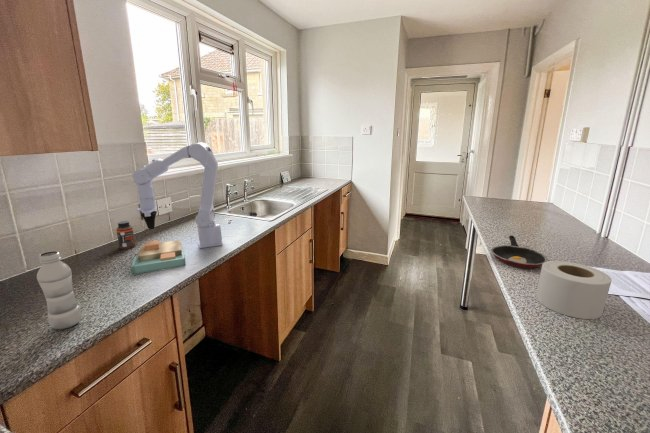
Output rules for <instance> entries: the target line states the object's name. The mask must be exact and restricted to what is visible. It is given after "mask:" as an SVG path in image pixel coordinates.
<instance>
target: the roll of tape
mask: <svg viewBox="0 0 650 433" xmlns="http://www.w3.org/2000/svg"><path fill="white" fill-rule="evenodd" d="M611 285H612V278H611V277H610V275H608V274H607V273H605V272H604V271H602V270H599V269H597V268H594V267H591V266H590V265H589V266H588V265H584V264H581V263H577V262H576V263H575V262H571V261H564V260H548V261H547V262H544V263H543V264H542V265H541V270H540V274H539V279H538V284H537V289H536V293H535V298H536V301H538V303H540V304H541V305H542V306H544V307H545V308H547V309H548V310H551V311H552V312H555V313H557V314H559V315H560V314H561V315H564V316H568V317H570V318H575V319H580V320H595V319H596V320H597V319H598V318H601V317H602V316H603V312H604V310H605V305H606V303H607V298H608V296H609V292H610V288H611Z"/></svg>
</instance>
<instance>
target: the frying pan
mask: <svg viewBox="0 0 650 433" xmlns="http://www.w3.org/2000/svg"><path fill="white" fill-rule="evenodd" d="M508 239H509V241H510V245H509V244H507V245H506V244H504V245H503V244H502V245H495V246H492V247H491V248H490V252H491V253H492V254H493V257H495V258H496V259H497V261H499V262H500V263H502V264H504V265H507V266H511V267H514V268H518V269H529V270H530V269H535V268H538V267H540V266H541V267H542V264H543V263H544V262H547V261H549V260H548V259H549V258H548V257H547V256H546V255H545V254H543V253H541V252H539V251H537V250H534V249H530V248H526V247H524V246H523V247H522V246H520V245H519V244H518V242H517V240H516V237H515V236H514V235H511V234H510V235H509V237H508Z"/></svg>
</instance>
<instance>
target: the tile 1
mask: <svg viewBox="0 0 650 433" xmlns="http://www.w3.org/2000/svg"><path fill="white" fill-rule="evenodd" d="M160 243H161V242H160V240H159V239H158V240H151V241H150V240H149V241H145V242H144V245H145V246H144V247H145V251H146V250H153V249H159V247H160Z"/></svg>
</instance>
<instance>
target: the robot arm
mask: <svg viewBox="0 0 650 433" xmlns="http://www.w3.org/2000/svg"><path fill="white" fill-rule="evenodd" d="M189 158H190V159H191V158H192V159H193V160H195V161H197V162H199V163H200V164H201V166H203V167H204V170H203V181H202V188H201V189H202V190H201V199H200V205H199V208H198V213H197V214H196V215H195V218H194V220H195V221H194V222H195V224H196V225H197V226H196V227H197V232H198V233H197V234H198V241H197V243H198V248H199V249H205V248H211V247H218V246H222V245H223V237H222V228H221V225H220V223H215V221H214V220H215V218H216V214H215V213H216V212H215V206H214V200H215V191H216V183H217V175H218V162H217V160H216V157H215V155H214V152H213V149H212V148H211V147H210V146H209V145H208V144H207V143H205V142H203V141H202V142H201V141H200V142H193V143H192V144H190V145H187V146H184V147H182V148H179V149H178V150H177V151H175V152H174V153H172V154H170V155H169V156H167V157H165V158H164V159H162V158H153V159H152V160H151V161H152V162H150V163H148V164H144V165H142V166H141V167H142V168H138V169H135V171H133V173H132V180H133V181H134V183H135V184H136V190H137V196H138V197H137V198H138V202H139V207H137V209H136V210H137V212H139V211H140V212H141V213H140V216H141V218H142V219H143V220H144V222H145V224H146V227H147V229H148V230H155V227H156V226H155V224H156V223H155V222H156V216H157V212H158V211H157V209H158V208H157V205H156V199H155V191H154V186H153V180H154V179H156V178H158V177H159V176H161V175H163V174H164V173H166V172H168V171H169V167H170V166H172V165H173V164H175V163H177V162H180V161H182V160H183V159H189Z"/></svg>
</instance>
